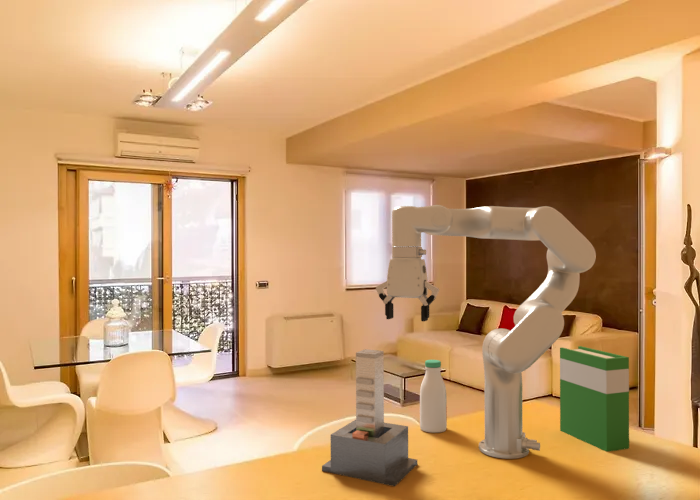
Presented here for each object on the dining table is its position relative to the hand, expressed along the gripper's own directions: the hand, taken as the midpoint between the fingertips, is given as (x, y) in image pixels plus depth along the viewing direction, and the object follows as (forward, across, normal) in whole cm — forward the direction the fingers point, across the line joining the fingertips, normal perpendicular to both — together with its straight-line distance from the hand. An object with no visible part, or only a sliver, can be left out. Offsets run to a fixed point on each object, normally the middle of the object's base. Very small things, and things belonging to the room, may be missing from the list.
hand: (406, 319), depth 144 cm
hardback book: (+35, -42, -32) cm, 63 cm away
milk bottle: (+34, 0, -20) cm, 40 cm away
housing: (+34, +4, +14) cm, 37 cm away
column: (+28, +4, +14) cm, 32 cm away
